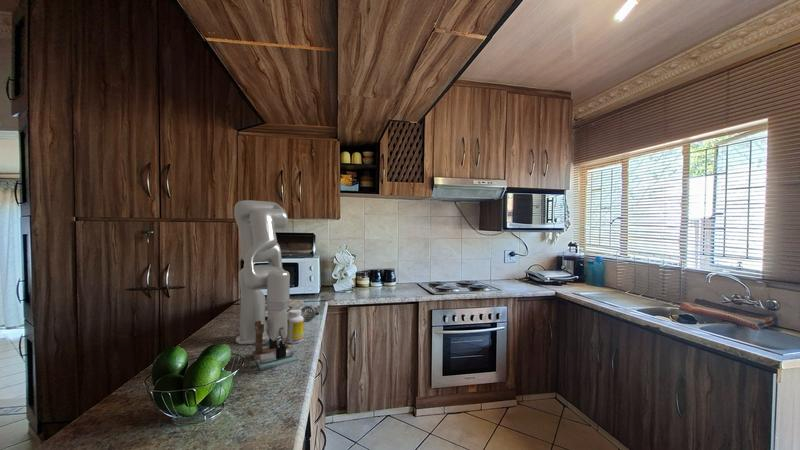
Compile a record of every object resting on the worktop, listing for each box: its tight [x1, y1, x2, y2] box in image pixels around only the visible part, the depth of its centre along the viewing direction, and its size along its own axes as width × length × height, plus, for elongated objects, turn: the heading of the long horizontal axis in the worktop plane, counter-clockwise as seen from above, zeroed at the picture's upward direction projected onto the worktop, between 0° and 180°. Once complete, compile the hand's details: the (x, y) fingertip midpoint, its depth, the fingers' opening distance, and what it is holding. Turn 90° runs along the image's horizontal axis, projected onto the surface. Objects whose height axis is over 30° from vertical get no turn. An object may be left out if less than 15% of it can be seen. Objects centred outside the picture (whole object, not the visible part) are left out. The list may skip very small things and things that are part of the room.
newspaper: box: [265, 298, 305, 319], centre depth 165 cm, size 35×12×4 cm, turn 176°
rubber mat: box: [256, 355, 298, 371], centre depth 102 cm, size 7×12×1 cm, turn 128°
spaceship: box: [300, 304, 323, 322], centre depth 147 cm, size 8×35×8 cm
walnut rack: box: [252, 318, 290, 362], centre depth 109 cm, size 6×12×12 cm, turn 128°
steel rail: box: [260, 347, 295, 364], centre depth 102 cm, size 11×3×3 cm, turn 127°
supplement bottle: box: [287, 308, 305, 345], centre depth 121 cm, size 7×7×13 cm
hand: (277, 352), depth 102 cm, fingers open, 9 cm apart
